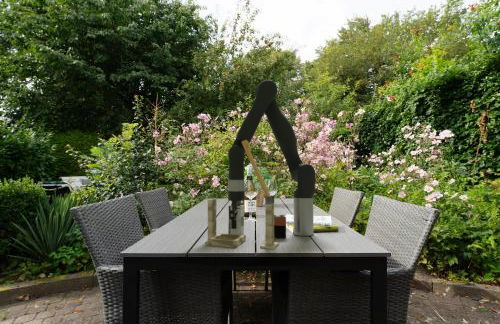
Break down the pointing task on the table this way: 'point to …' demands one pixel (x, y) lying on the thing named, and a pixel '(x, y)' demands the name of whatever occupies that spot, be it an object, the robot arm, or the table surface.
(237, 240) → the clamp rig
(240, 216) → the syrup box
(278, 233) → the battery
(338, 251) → the table surface
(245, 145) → the tan wooden bar
